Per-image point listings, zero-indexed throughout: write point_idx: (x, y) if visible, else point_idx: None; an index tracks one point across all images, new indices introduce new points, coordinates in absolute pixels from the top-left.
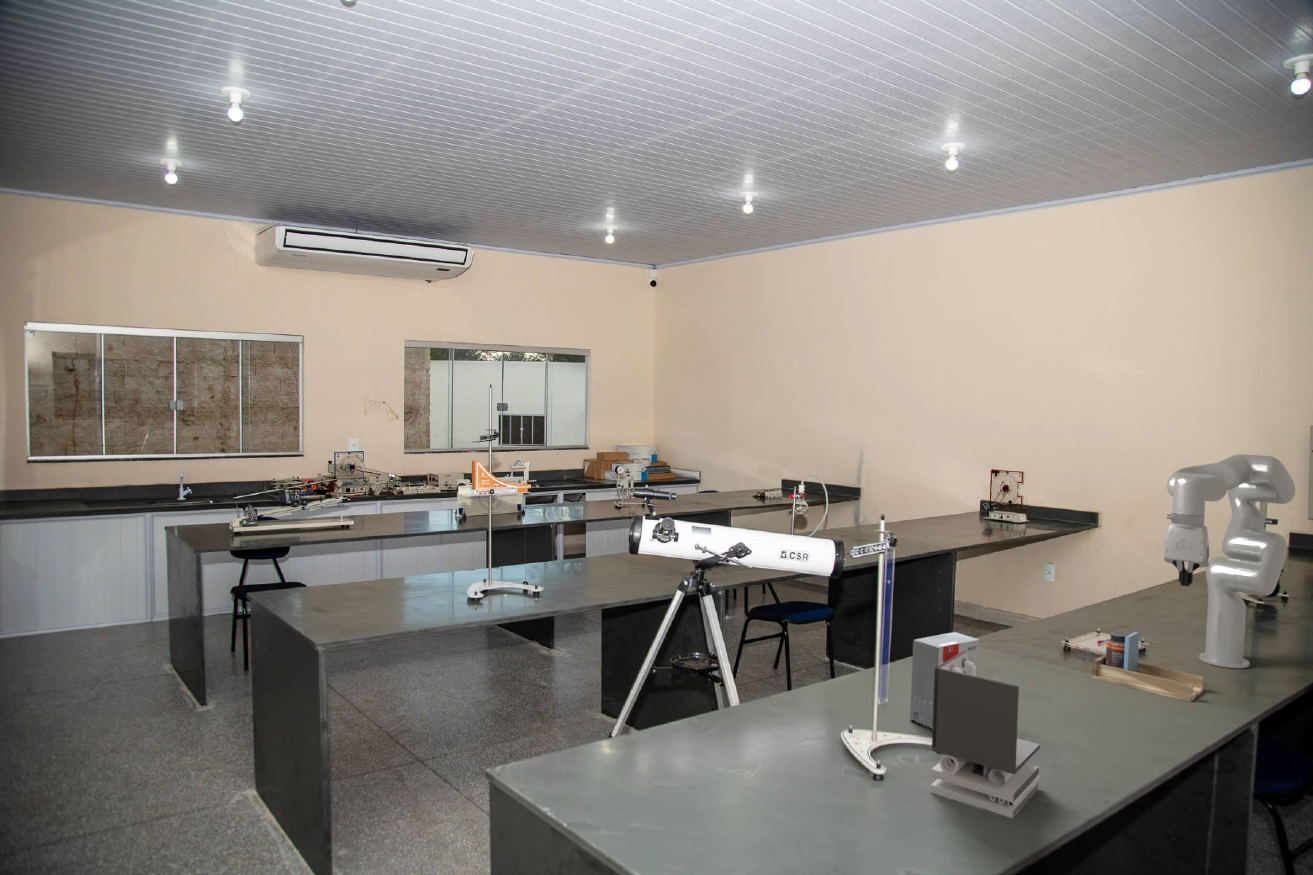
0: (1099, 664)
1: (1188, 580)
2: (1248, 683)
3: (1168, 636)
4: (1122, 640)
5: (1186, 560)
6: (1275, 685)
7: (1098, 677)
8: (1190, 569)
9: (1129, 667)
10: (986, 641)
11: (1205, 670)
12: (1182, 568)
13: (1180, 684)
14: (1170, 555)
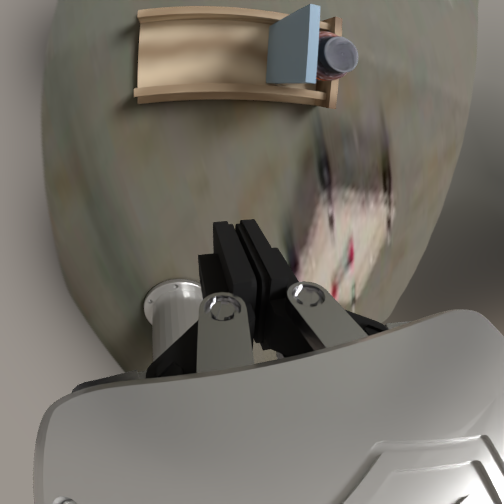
0: (329, 26)
1: (216, 259)
2: (104, 224)
3: (274, 351)
4: (324, 40)
5: (286, 362)
6: (78, 250)
7: None
8: (218, 322)
9: (276, 31)
10: (459, 136)
11: (180, 239)
12: (290, 312)
13: (161, 8)
14: (469, 335)
